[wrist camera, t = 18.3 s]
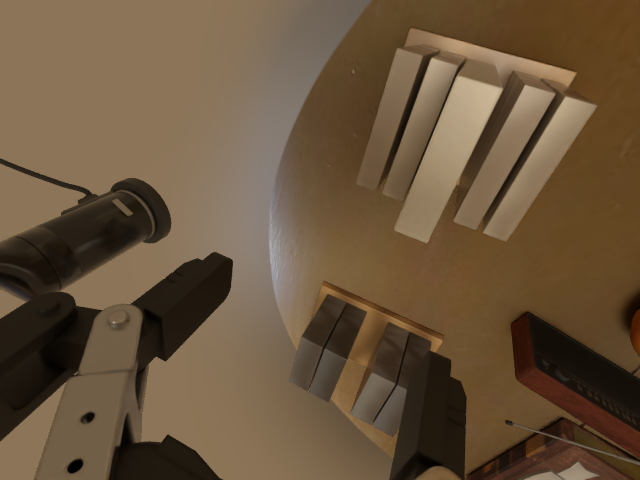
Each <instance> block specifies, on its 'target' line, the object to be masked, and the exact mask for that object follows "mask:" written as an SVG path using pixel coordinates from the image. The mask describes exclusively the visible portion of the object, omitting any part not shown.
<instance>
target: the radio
mask: <svg viewBox="0 0 640 480" xmlns="http://www.w3.org/2000/svg"><path fill="white" fill-rule="evenodd" d="M511 331H512V342H513V354H514V365H515V376H516V379H517V380H518V381H519V382H520V383H521V384H523V385H525V386H526V387H528V388H529V389H531V390H532V391H534V392H536V393H537V394H539V395H540V396H542V397H544V398H545V399H547V400H548V401H550V402H552V403H553V404H555V405H556V406H558V407H560V408H561V409H563V410H564V411H566V412H567V413H569V414H571V415H572V416H574V417H575V418H577V419H579V420H580V421H582V422H583V423H585V424H587V425H588V426H590V427H591V428H593V429H595V430H596V431H598V432H599V433H601V434H602V435H604V436H606V437H607V438H609V439H610V440H612V441H614V442H615V443H617V444H618V445H620V446H622V447H623V448H625V449H626V450H628V451H629V452H631V453H633V454H634V455H636V456H637V457H639V458H640V379H639V378H637V377H635V376H634V375H632V374H630V373H629V372H627V371H625V370H624V369H622V368H620V367H619V366H617V365H616V364H614V363H612V362H611V361H609V360H607V359H606V358H604V357H602V356H601V355H599V354H597V353H596V352H594V351H592V350H591V349H589V348H587V347H586V346H584V345H583V344H581V343H579V342H578V341H576V340H574V339H573V338H571V337H569V336H568V335H566V334H564V333H563V332H561V331H559V330H558V329H556V328H554V327H553V326H551V325H550V324H548V323H546V322H545V321H543V320H541V319H540V318H538V317H536V316H535V315H533V314H531V313H529V312H527V313H526V314H525V315H524V316H522V317H521V318H520V319H518V320H517V321H516V322H515V323H513V324H512V325H511ZM505 423H506V424H508V425H511V426H512V425H514V426H518V427H521V428H524V429H527V430H530V431H534V432H537V433H540V434H543V435H547V436H550V437H553V438H556V439H560V440H563V441H565V442H568V443H571V444H574V445H578V446H581V447H584V448H587V449H591V450H594V451H597V452H600V453H604V454H607V455H610V456H613V457H616V458H618V459H622V460H625V461H628V462H631V463H635V464H638V465H640V462H639V461H636V460H633V459H630V458H627V457H623V456H620V455H617V454H612V453H609V452H606V451H603V450H600V449H596V448H593V447H590V446H587V445H583V444H580V443H577V442H574V441H571V440H567V439H563V438H560V437H556V436H553V435H550V434H547V433H544V432H540V431H537V430H534V429H531V428H527V427H524V426H521V425H518V424H515V423H513V422H511V421H508V420H506V421H505Z"/></svg>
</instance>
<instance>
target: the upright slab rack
mask: <svg viewBox="0 0 640 480" xmlns="http://www.w3.org/2000/svg"><path fill="white" fill-rule="evenodd" d="M468 59H472V60H475V61H479V62H482V63H486V64H489V65H493V66H496V69H497V72H498V75H499V78H500V81H501V84H502V87H503V91H502V93H501V95H500V97H499V99H498V101H497V103H496V105H495V107H494V109H493V111H492V113H491V115H490V117H489V119H488V121H487V123H486V125H485V127H484V129H483V131H482V133H481V135H480V137H479V139H478V141H477V143H476V145H475V147H474V149H473V151H472V153H471V156H470V158H469V160H468V162H467V164H466V166H465V168H464V170H463V172H462V174H461V176H460V178H459V180H458V182H457V184H456V185H457V186H459V188H458V194H457V199H456V205H455V211H454V216H453V222H455V223H458V224H460V225H463V226H466V227H468V228H471V229H473V230H476V229H477V227H478V226H479V224H480V222H481V220H482V219H483V233H484V234H487V235H489V236H492V237H495V238H497V239H500V240H503V241H505V242H507V240H508V239H509V237H510V236H511V234H512V233H513V231H514V230H515V228H516V227H517V225H518V224H519V222H520V221H521V219H522V218H523V216H524V215H525V213H526V212H527V210H528V209H529V207H530V206H531V204H532V203H533V201H534V200H535V198H536V197H537V195H538V194H539V192H540V191H541V189H542V188H543V186H544V185H545V184H546V182H547V181H548V179H549V178H550V176H551V175H552V173H553V172H554V170H555V169H556V167H557V166H558V164H559V163H560V161H561V160H562V158H563V157H564V155H565V154H566V152H567V151H568V149H569V148H570V146H571V145H572V143H573V142H574V140H575V139H576V137H577V136H578V134H579V133H580V131H581V130H582V128H583V127H584V125H585V124H586V122H587V121H588V119H589V118H590V116H591V115H592V113H593V112H594V110H595V109H596V107H597V105H596V104H595V103H593V102H591V101H590V100H588V99H587V98H585V97H584V96H582V95H580V94H579V93H577V92H576V91H574V90H572V89H571V88H569V85H570V84H571V82H572V81H573V79H574V77H575V76H576V74H577V72H575V71H571V70H568V69H564V68H560V67H557V66H553V65H549V64H546V63H542V62H538V61H535V60H531V59H527V58H524V57H520V56H516V55H513V54H509V53H505V52H502V51H498V50H494V49H491V48H487V47H483V46H480V45H476V44H472V43H468V42H465V41H461V40H457V39H454V38H450V37H446V36H443V35H439V34H435V33H432V32H428V31H424V30H421V29H417V28H413V27H410V29H409V33H408V36H407V39H406V42H405V45H404V47H400V48H397V49H396V53H395V56H394V59H393V62H392V66H391V69H390V72H389V76H388V79H387V82H386V85H385V89H384V92H383V95H382V99H381V102H380V105H379V108H378V112H377V115H376V118H375V122H374V125H373V128H372V131H371V135H370V138H369V141H368V145H367V148H366V151H365V154H364V158H363V161H362V164H361V168H360V171H359V174H358V177H357V181H356V184H357V185H359V186H362V187H365V188H367V189H370V190H372V191H377V189H378V188H379V186H380V185H381V184H382V182H383V181H384V179H385V178H386V176H387V175H388V173H389V172H390V173H389V176H388V178H387V181H386V184H385V187H384V189H383V192H382V194H383V195H385V196H388V197H390V198H393V199H396V200H398V201H401V202H403V201H404V199H405V197H406V195H407V193H408V191H409V189H410V187H411V185H412V183H413V181H414V178H415V176H416V174H417V171H418V169H419V166H420V164H421V161H422V159H423V156H424V154H425V152H426V149H427V147H428V144H429V142H430V139H431V137H432V135H433V132H434V130H435V127H436V125H437V122H438V120H439V117H440V115H441V113H442V110H443V108H444V105H445V103H446V100H447V98H448V95H449V93H450V91H451V88H452V86H453V83H454V81H455V78H456V76H457V75H458V73H459V72H460V70H461V69H462V68H463V66H464V65H465V63H466V62H467V60H468Z"/></svg>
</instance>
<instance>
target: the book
mask: <svg viewBox="0 0 640 480" xmlns="http://www.w3.org/2000/svg"><path fill="white" fill-rule="evenodd" d="M543 432H544V433H547V434H550V435H553V436H556V437H560V438H563V439H567V440H571V441H574V442H577V443H580V444H583V445H587V446H590V447H593V448H596V449H600V450H603V451H606V452H609V453H612V454H617V455H620V456H623V457H627V458H630V459H632V458H631V457H629V456H627V455H626V454H624V453H623V452H621V451H619V450H618V449H616V448H615V447H613V446H611V445H610V444H608V443H606V442H605V441H603V440H602V439H600V438H598V437H597V436H595V435H594V434H592V433H590V432H589V431H587V430H586V429H584V428H582V427H581V426H579V425H577V424H576V423H574V422H572V421H571V422H570V421H569V420H568V419H563V420H561V421H559V422H558V423H556V424H554V425H553V426H551V427H549V428H548V429H546V430H544V431H543ZM633 460H634V459H633ZM466 480H640V465H638V464H635V463H631V462H628V461H625V460H622V459H618V458H616V457H613V456H610V455H607V454H604V453H600V452H597V451H594V450H591V449H587V448H584V447H581V446H578V445H574V444H571V443H568V442H565V441H563V440H560V439H556V438H553V437H550V436H547V435H543V434H540V433H539V434H538V435H536V436H534V437H533V438H531V439H529V440H528V441H526V442H524V443H523V444H521V445H519V446H518V447H516V448H514V449H513V450H511V451H509V452H508V453H506V454H504V455H503V456H501V457H499V458H498V459H496V460H494V461H493V462H491V463H489V464H488V465H486V466H485V467H483V468H481V469H480V470H478V471H476V472H475V473H473V474H471V475H470V476H468V477H466Z"/></svg>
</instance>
